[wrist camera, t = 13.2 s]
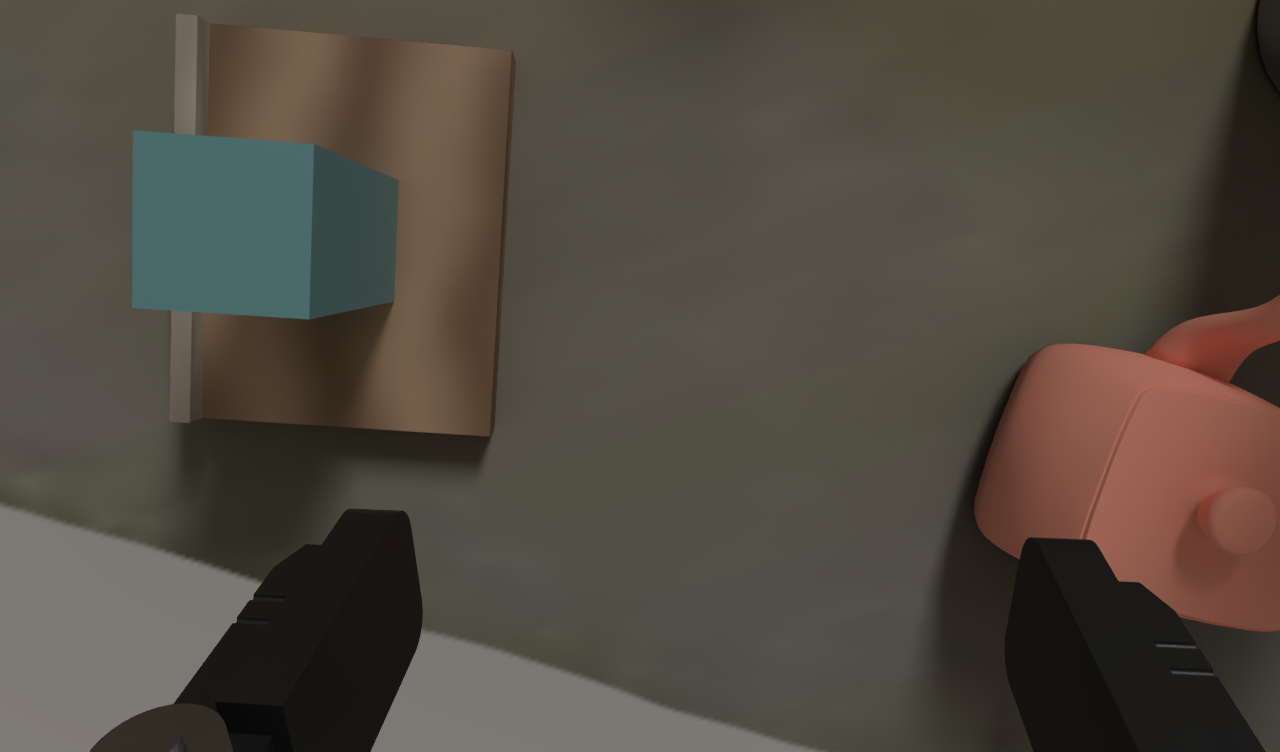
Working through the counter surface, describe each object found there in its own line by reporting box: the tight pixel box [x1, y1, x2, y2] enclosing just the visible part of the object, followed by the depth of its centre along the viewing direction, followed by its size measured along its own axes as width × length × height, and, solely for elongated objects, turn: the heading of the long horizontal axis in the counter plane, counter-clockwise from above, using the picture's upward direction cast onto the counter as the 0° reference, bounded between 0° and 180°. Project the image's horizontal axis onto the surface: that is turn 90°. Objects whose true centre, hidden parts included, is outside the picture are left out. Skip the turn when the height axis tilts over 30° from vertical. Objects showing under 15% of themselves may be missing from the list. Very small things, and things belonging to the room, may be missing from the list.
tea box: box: [132, 130, 399, 319], centre depth 33 cm, size 5×5×12 cm
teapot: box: [974, 295, 1280, 632], centre depth 39 cm, size 12×18×10 cm, turn 162°
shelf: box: [170, 14, 516, 436], centre depth 39 cm, size 13×16×3 cm
